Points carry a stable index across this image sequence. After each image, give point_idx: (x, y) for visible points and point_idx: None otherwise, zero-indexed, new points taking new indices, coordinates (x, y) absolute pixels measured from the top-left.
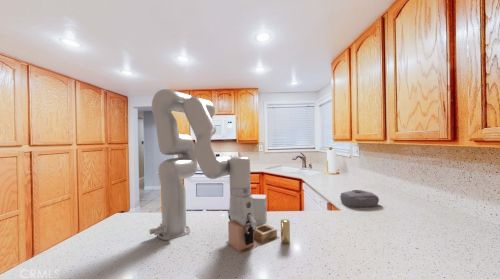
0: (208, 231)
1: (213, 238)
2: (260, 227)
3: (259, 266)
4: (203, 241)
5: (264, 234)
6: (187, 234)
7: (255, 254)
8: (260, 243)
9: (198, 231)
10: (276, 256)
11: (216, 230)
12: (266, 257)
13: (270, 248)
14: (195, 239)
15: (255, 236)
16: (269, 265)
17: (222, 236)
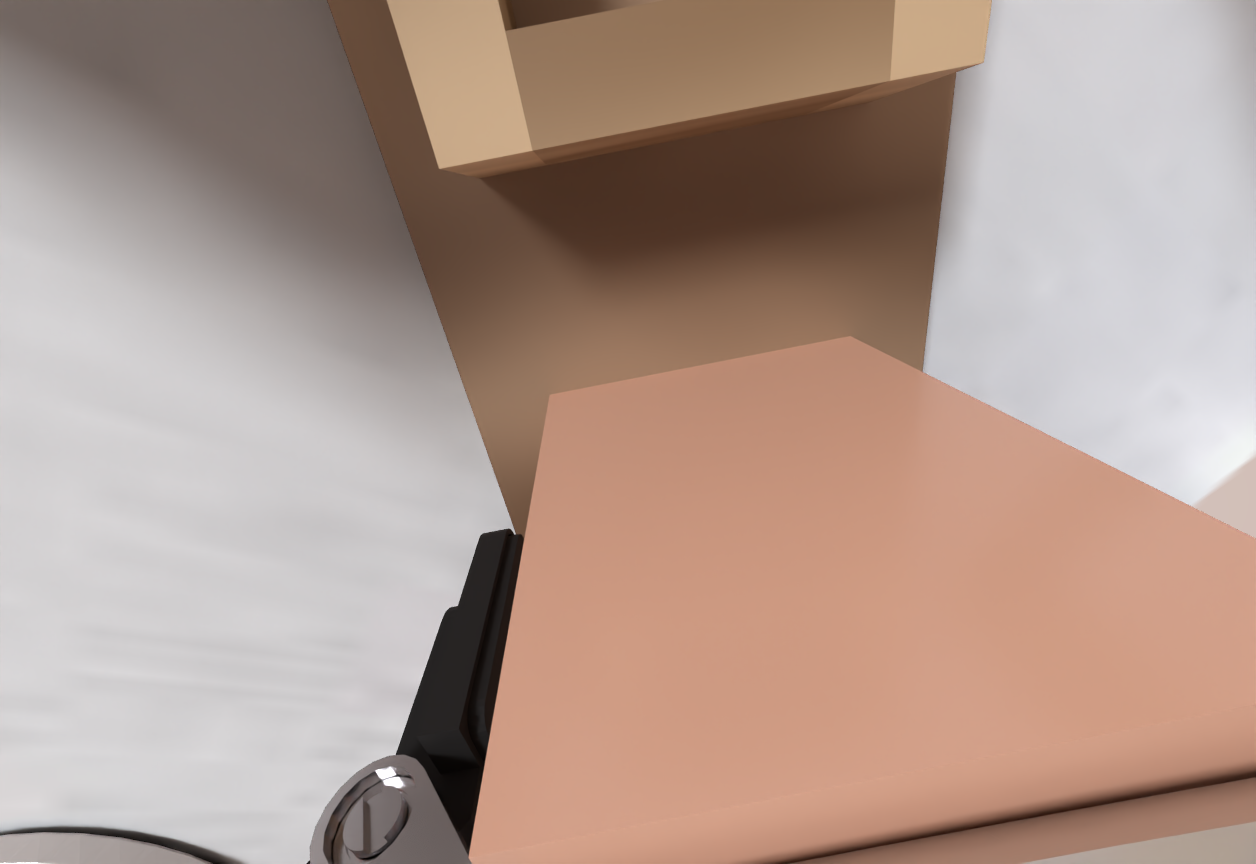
0: (63, 685)
1: (315, 668)
2: None
3: (1143, 440)
4: (364, 746)
5: (985, 4)
6: (161, 852)
7: (953, 376)
8: (886, 203)
9: (54, 765)
10: (1227, 124)
11: (29, 602)
12: (1112, 281)
13: (1013, 59)
14: (291, 793)
15: (610, 151)
16: (1234, 338)
17: (281, 577)
